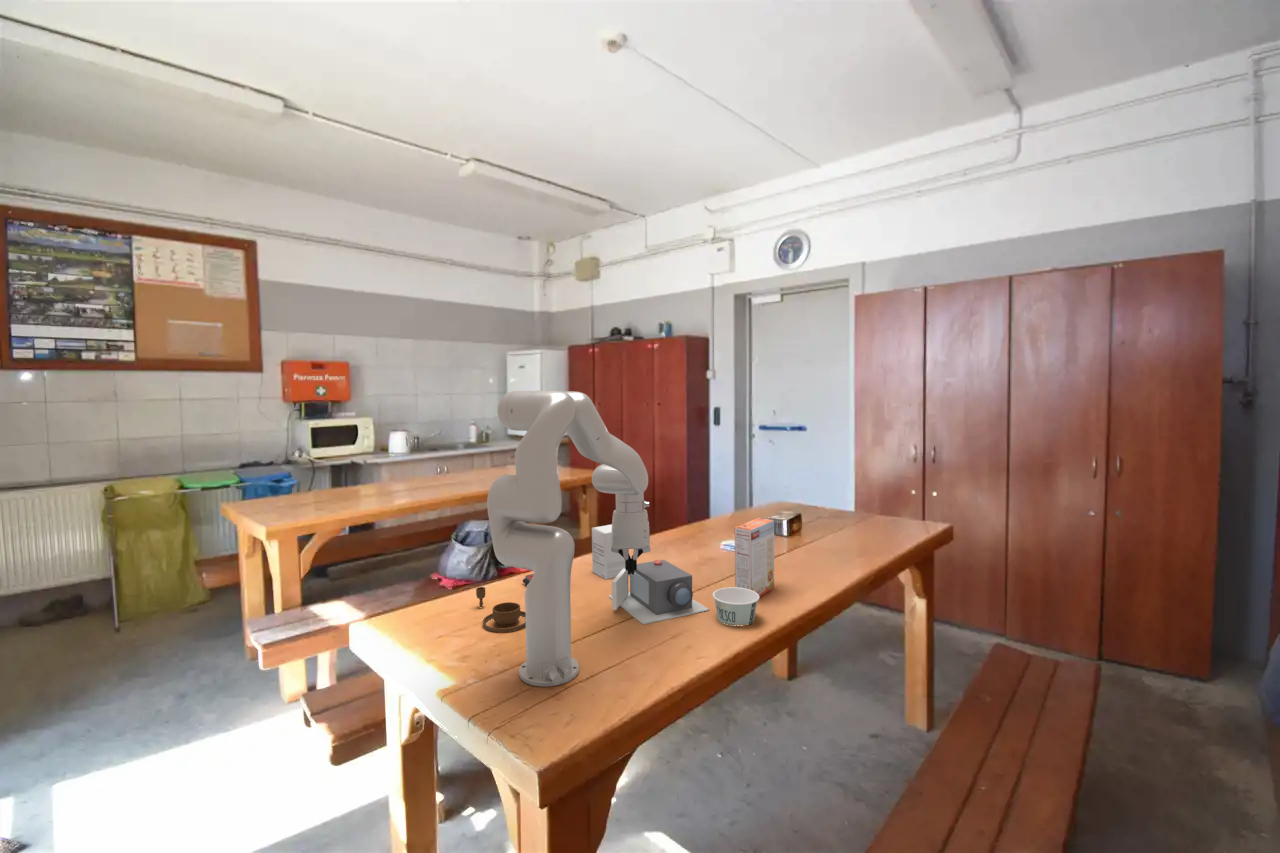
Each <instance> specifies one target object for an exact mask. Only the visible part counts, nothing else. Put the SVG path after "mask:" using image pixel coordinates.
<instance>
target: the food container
mask: <svg viewBox="0 0 1280 853" xmlns="http://www.w3.org/2000/svg"><path fill="white" fill-rule="evenodd" d="M712 598H713V599H714V603H715V609H716V615H717V620H718V622H719V623H721V622H722V623H721V624H723V623H725V624H728V625H733V626H732V627H735V626H734V625H736V626H737V625H739V626H740V625H747V624H750V623H752V622H753V621H754V622H755V615H756V611H757V606H758V601H759V600H760V599H761V597H759V595H758V594H757V593H756V592H754V591H752V590H749V589H745V588H738V587H735V586H731V587H730V586H729V587H721V588H719V589H716V590H715V591H713V592H712ZM754 622H753V623H754ZM753 623H752V624H753ZM725 624H724V625H725ZM728 625H727V626H728ZM750 625H751V624H750Z"/></svg>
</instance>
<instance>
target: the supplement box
mask: <svg viewBox="0 0 1280 853" xmlns="http://www.w3.org/2000/svg"><path fill="white" fill-rule="evenodd" d="M611 535H612V523H611V524H606V525H601V526H600V525H599V526H596V527H594V526H593V527H591V550H592V552H591V553H592V554H591V556H592V573H593V572H594V574H595V575H597V576H599V577H600V578H603V579H605V580H609V579H615V578H616V576H617V575H618V574H619V573H620V572H621V570H622V569H623V568H624V567H625V559H624V558H623V557H622V556H621V555H620V554H619V553H615V552H612V551H611V547H612V541H611ZM628 551H630V549H628Z"/></svg>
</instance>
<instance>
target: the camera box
mask: <svg viewBox="0 0 1280 853" xmlns="http://www.w3.org/2000/svg"><path fill="white" fill-rule="evenodd" d="M629 586H630V587H629V588H630V589H629V591H628V595H627V596H626V597H625V599H624V600H623V602H622V603H621V604H620V606H619V608H622V609H623V610H624V611H625V612H627V613H628V615H630V616H632V617H633V618H634V619H635V620H637V621H638V622H639V623H640V624H642V626H645V625H649V624H653V623H658V622H662V621H667V620H671V619H677V618H681V617H686V616H691V615H695V614H699V613H700V612H701V613H705V612H710V609H709V608H708V607H707V606H704V605H703V604H701V603H700V602H698V601H697V600H695V599H693V596H694V595H693V594H694V592H693V575H692V574H691V573H688V572H687V571H685V570H684V569H681V567H678V566H676V565H674V564H673V563H670V562H669V561H667V560H665V559H656V560H654V561H647V562H641V563H637V570H635V571H634V575H632V574H630V575H629ZM608 598H609V599H610V600H612V594H609V595H608ZM704 611H705V612H704ZM701 613H700V614H701Z"/></svg>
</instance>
